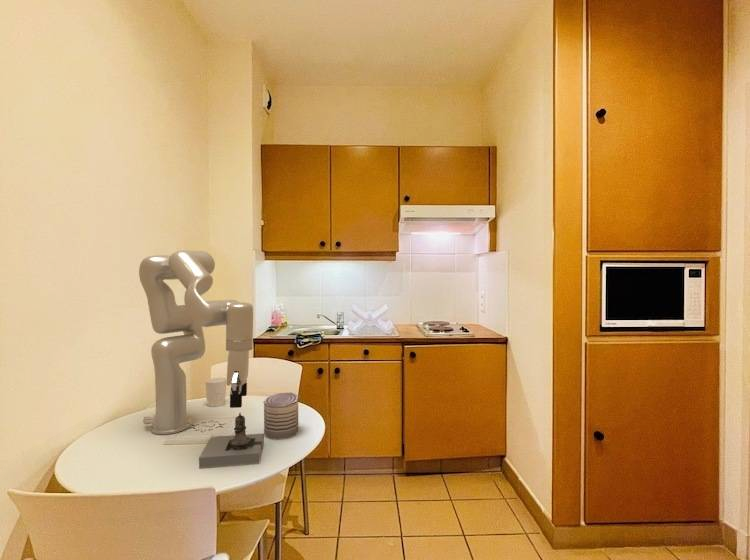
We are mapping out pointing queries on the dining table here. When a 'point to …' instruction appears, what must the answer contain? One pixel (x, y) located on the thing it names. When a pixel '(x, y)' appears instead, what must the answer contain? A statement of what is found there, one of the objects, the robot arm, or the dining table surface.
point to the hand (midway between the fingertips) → (238, 401)
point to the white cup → (216, 391)
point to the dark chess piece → (240, 434)
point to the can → (281, 416)
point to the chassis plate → (231, 452)
